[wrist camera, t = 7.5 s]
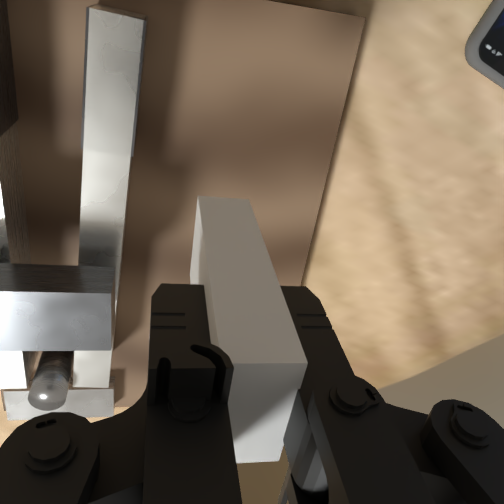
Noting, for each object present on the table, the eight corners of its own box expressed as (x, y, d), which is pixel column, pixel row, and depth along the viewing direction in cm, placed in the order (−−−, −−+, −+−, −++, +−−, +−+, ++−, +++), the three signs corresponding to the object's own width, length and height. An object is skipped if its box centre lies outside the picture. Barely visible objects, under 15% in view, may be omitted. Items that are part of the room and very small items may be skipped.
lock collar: (-39, 220, 21) (-96, 289, 16) (121, 228, 23) (111, 293, 18) (-29, 274, 23) (-79, 351, 18) (120, 278, 24) (111, 350, 19)
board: (-62, -57, 17) (-76, -59, 16) (355, 15, 21) (365, 17, 20) (9, 395, 29) (4, 410, 28) (268, 388, 32) (272, 401, 31)
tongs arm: (43, -9, 17) (18, -7, 14) (148, 15, 18) (145, 22, 15) (43, 360, 26) (28, 410, 23) (113, 363, 27) (107, 411, 24)
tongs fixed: (-55, -24, 17) (-94, -25, 14) (116, 3, 18) (108, 6, 15) (12, 406, 28) (-3, 450, 25) (114, 403, 29) (110, 444, 26)
